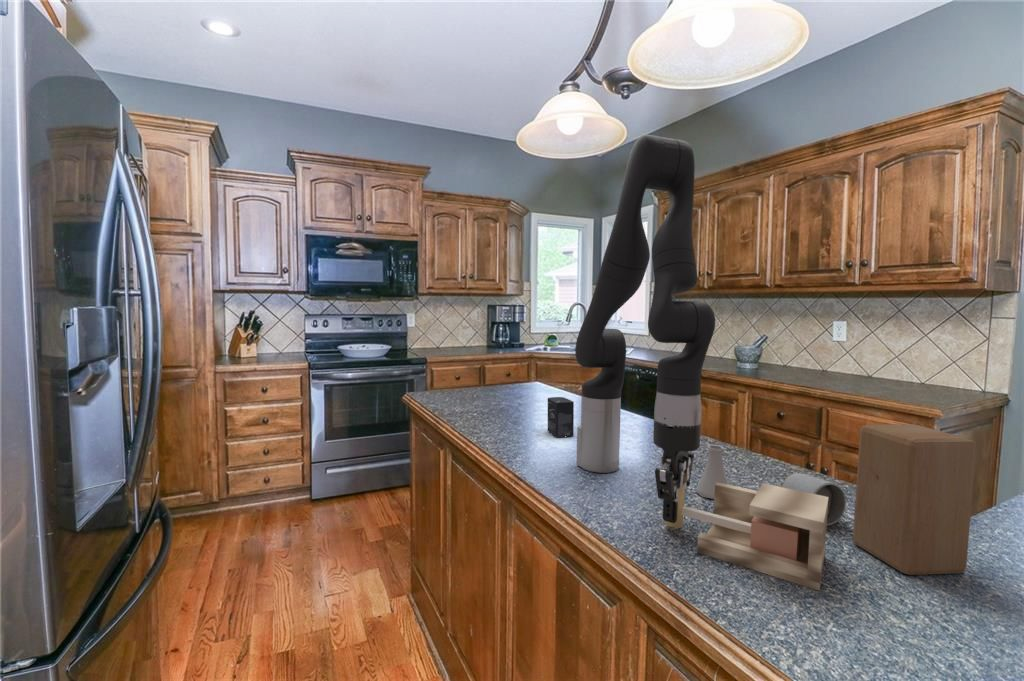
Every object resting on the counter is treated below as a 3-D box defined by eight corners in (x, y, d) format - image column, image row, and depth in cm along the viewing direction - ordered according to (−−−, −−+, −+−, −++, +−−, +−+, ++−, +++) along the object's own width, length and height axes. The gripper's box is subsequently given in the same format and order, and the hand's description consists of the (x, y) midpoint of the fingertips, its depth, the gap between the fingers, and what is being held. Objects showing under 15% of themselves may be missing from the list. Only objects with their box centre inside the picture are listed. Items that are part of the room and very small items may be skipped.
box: (573, 437, 138) (574, 401, 137) (556, 438, 136) (556, 401, 136) (563, 430, 146) (564, 396, 145) (546, 431, 144) (547, 396, 143)
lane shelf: (697, 552, 73) (699, 493, 72) (715, 526, 82) (717, 473, 81) (819, 590, 63) (823, 522, 62) (824, 557, 72) (828, 497, 71)
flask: (737, 503, 92) (739, 453, 91) (698, 499, 93) (700, 450, 93) (727, 489, 99) (730, 443, 98) (692, 486, 101) (693, 440, 100)
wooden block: (849, 543, 76) (857, 423, 75) (905, 541, 77) (914, 422, 76) (905, 578, 66) (915, 440, 65) (969, 575, 67) (980, 440, 66)
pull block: (657, 526, 79) (659, 486, 78) (669, 514, 84) (671, 476, 83) (795, 567, 67) (798, 520, 66) (800, 550, 72) (802, 506, 71)
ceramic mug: (807, 505, 91) (809, 467, 91) (846, 524, 83) (848, 482, 83) (761, 510, 89) (762, 471, 88) (796, 530, 81) (798, 487, 80)
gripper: (668, 409, 87) (665, 499, 88) (640, 423, 76) (636, 525, 77) (711, 414, 83) (706, 509, 84) (687, 430, 71) (683, 539, 72)
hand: (673, 516), depth 80 cm, fingers closed on pull block, 3 cm apart
